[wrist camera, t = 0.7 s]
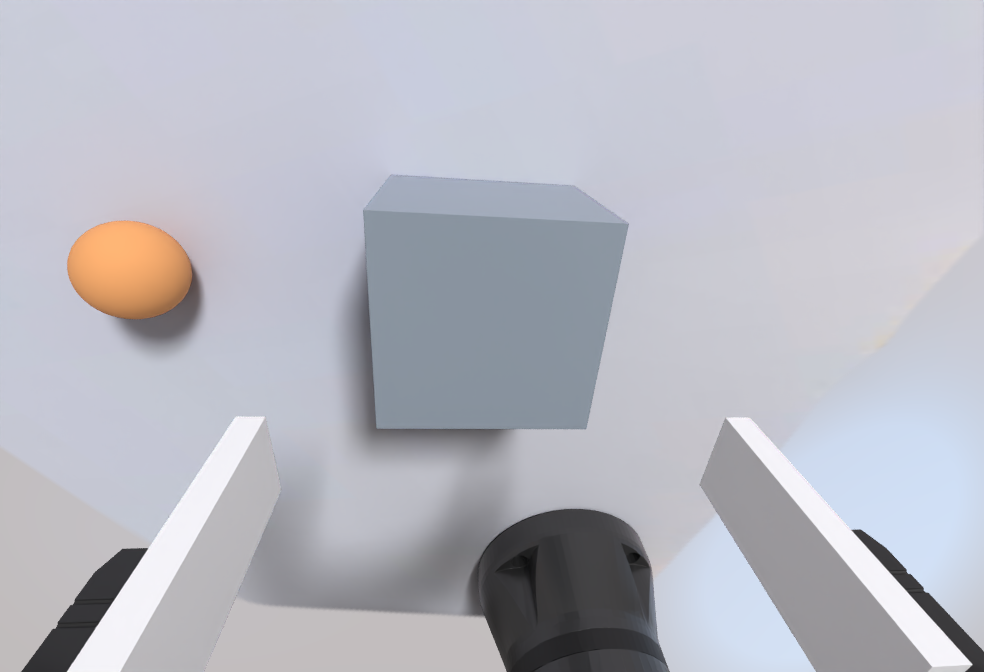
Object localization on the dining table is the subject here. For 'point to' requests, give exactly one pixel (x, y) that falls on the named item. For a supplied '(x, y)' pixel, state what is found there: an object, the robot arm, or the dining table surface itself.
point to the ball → (129, 269)
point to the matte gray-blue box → (487, 302)
